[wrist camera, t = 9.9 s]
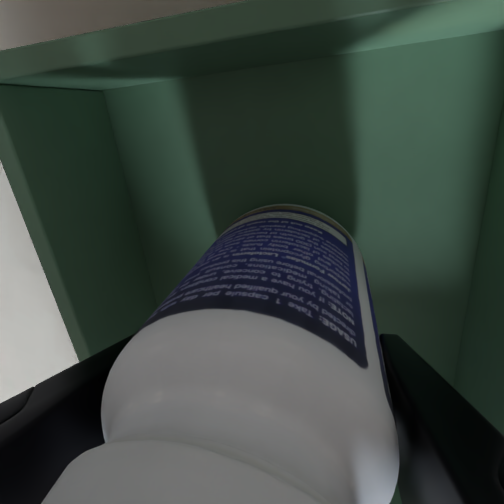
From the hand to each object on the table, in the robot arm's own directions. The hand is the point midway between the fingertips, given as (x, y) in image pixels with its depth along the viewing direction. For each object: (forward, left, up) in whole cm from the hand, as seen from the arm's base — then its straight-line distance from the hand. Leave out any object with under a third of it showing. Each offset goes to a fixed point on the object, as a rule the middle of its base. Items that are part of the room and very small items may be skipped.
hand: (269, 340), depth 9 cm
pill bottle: (0, 0, -4) cm, 4 cm away
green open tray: (0, 0, -5) cm, 5 cm away
